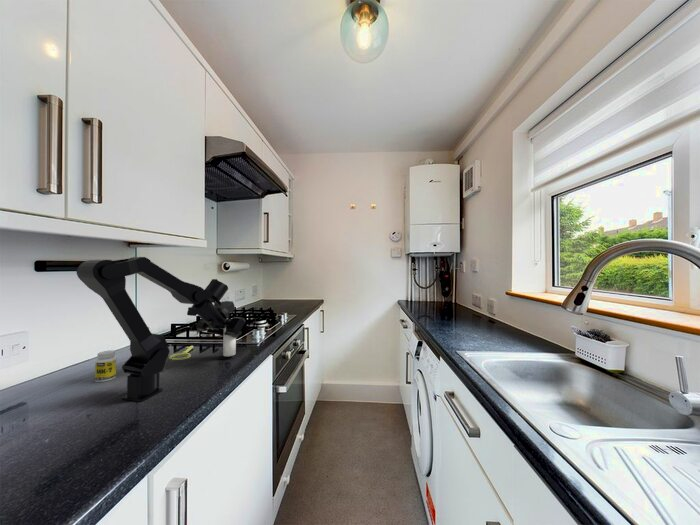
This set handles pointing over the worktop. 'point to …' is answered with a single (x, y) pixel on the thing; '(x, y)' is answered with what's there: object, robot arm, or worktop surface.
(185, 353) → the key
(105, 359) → the supplement bottle
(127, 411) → the worktop surface
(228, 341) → the white bottle
